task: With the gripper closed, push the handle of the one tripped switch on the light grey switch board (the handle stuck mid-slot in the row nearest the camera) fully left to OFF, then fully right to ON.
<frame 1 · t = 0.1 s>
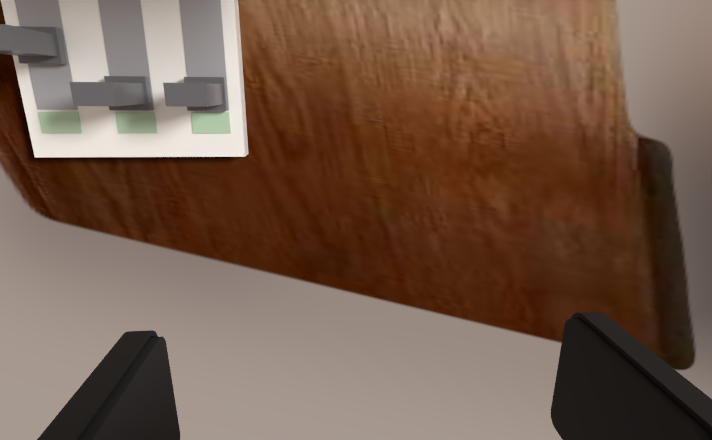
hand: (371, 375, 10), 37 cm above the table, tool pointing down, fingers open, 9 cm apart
middle switch: (113, 93, 36), point 6 cm above the table, slide at 4.0 cm
tripped switch: (16, 42, 34), point 6 cm above the table, slide at 0.0 cm
switch board: (135, 49, 40), on the table
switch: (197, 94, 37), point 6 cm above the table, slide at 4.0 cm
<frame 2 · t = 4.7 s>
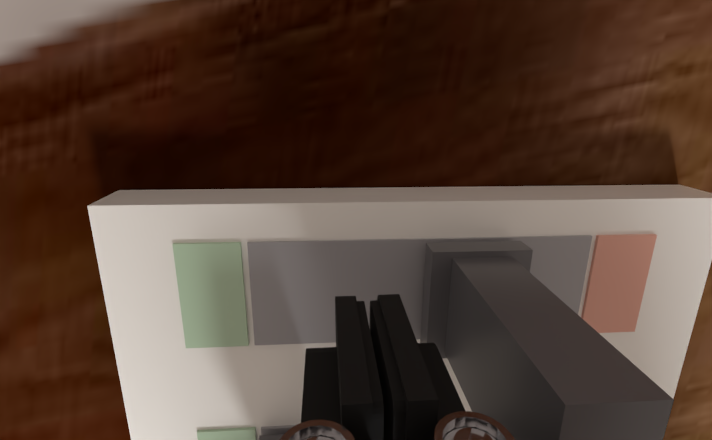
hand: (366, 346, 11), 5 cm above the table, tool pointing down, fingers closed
tripped switch: (514, 358, 10), point 6 cm above the table, slide at -1.5 cm, touching gripper
switch board: (402, 418, 18), on the table
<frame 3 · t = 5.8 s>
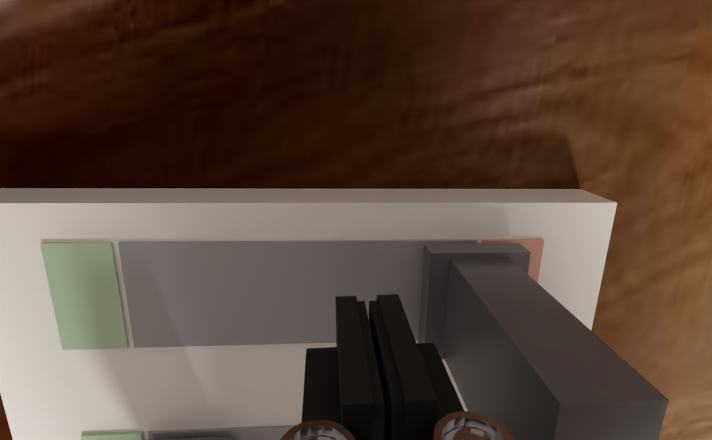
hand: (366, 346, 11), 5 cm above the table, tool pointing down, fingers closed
tripped switch: (511, 359, 10), point 6 cm above the table, slide at -5.2 cm, touching gripper
switch board: (309, 423, 18), on the table
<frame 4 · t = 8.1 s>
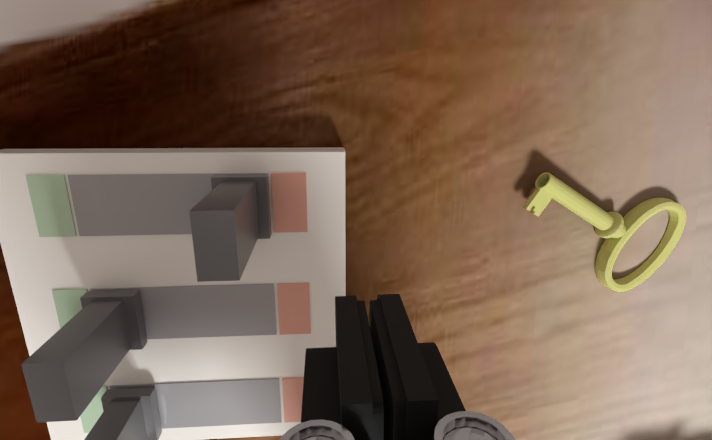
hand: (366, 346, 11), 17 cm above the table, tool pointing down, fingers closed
middle switch: (88, 349, 23), point 6 cm above the table, slide at 4.0 cm
tripped switch: (231, 222, 21), point 6 cm above the table, slide at -4.1 cm
switch board: (196, 297, 28), on the table
key: (597, 221, 30), on the table
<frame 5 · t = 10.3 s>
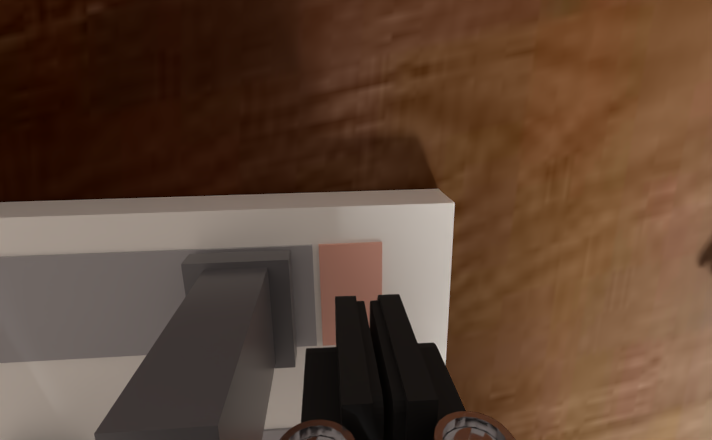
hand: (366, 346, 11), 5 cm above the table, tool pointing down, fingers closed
tripped switch: (220, 374, 10), point 6 cm above the table, slide at -3.3 cm, touching gripper
switch board: (188, 433, 17), on the table
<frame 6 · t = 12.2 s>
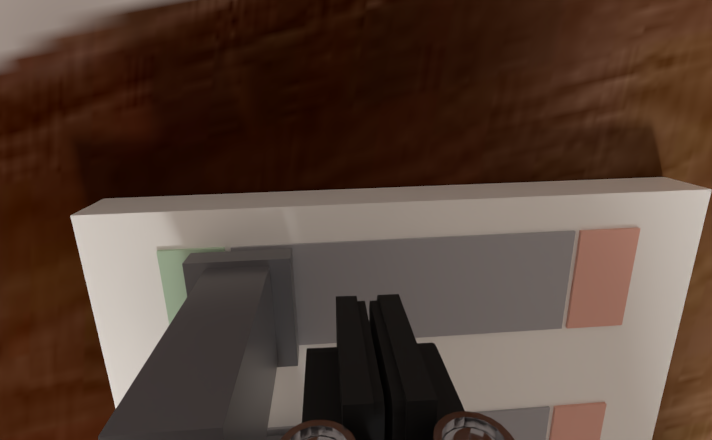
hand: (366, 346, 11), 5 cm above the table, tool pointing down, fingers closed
tripped switch: (223, 374, 10), point 6 cm above the table, slide at 5.1 cm, touching gripper
switch board: (394, 416, 18), on the table
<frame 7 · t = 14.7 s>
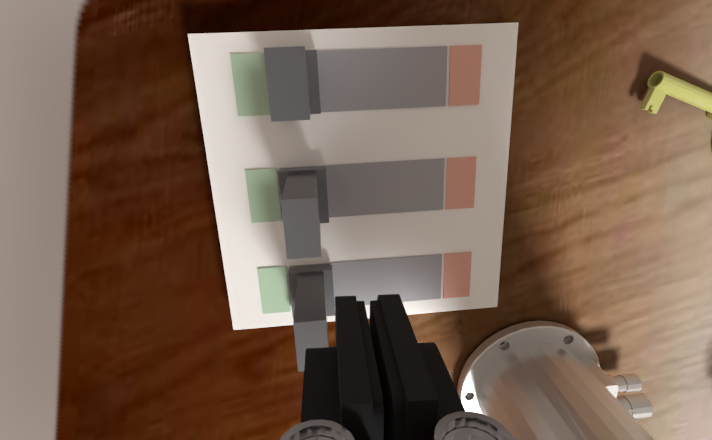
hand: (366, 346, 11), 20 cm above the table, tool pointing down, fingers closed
middle switch: (303, 209, 25), point 6 cm above the table, slide at 4.0 cm
tripped switch: (291, 84, 22), point 6 cm above the table, slide at 4.1 cm
switch board: (360, 182, 30), on the table
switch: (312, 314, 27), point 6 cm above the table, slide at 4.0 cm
key: (706, 107, 32), on the table
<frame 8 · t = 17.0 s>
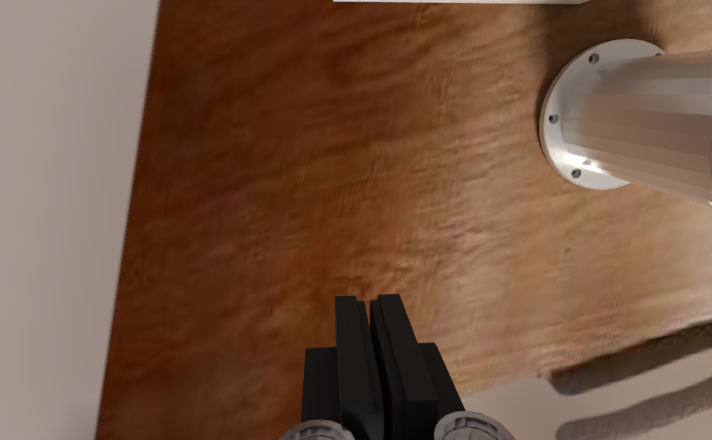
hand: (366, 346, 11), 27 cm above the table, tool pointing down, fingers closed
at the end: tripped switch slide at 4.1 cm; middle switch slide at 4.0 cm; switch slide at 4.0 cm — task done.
